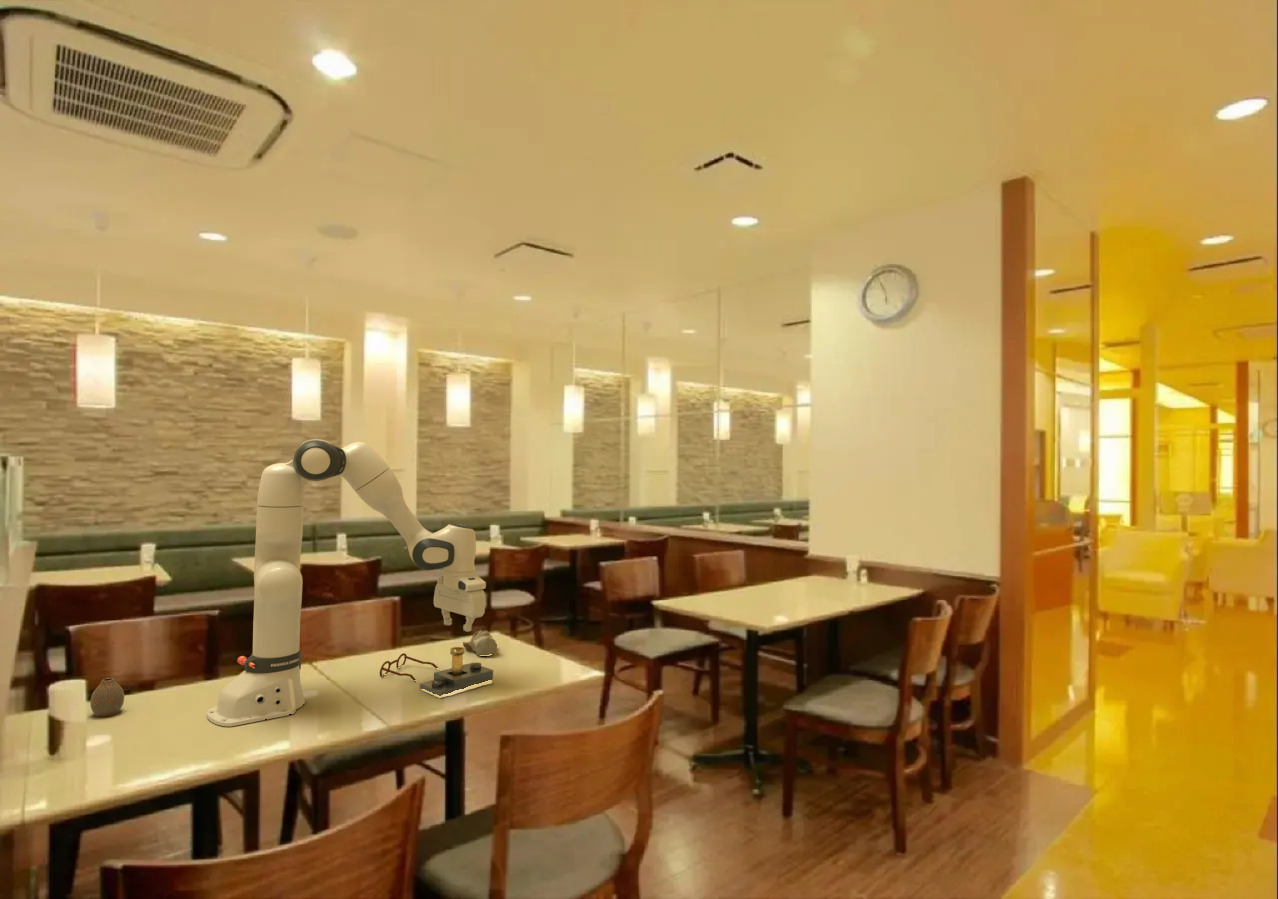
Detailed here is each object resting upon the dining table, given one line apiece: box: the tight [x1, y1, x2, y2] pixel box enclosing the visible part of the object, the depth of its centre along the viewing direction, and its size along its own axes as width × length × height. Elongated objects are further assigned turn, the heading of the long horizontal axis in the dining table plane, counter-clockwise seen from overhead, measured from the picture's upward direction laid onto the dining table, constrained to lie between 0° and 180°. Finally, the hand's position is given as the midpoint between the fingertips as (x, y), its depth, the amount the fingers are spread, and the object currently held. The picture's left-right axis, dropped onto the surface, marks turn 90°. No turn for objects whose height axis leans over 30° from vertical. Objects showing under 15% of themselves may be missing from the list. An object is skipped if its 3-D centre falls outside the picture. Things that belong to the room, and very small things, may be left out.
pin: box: [449, 646, 466, 677], centre depth 208 cm, size 4×4×11 cm
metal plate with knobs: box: [419, 662, 494, 696], centre depth 208 cm, size 18×10×5 cm, turn 139°
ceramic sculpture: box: [462, 628, 498, 656], centre depth 242 cm, size 11×9×15 cm
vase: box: [89, 677, 125, 718], centre depth 182 cm, size 7×7×9 cm
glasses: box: [379, 652, 439, 681], centre depth 219 cm, size 13×13×5 cm
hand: (457, 627), depth 208 cm, fingers open, 8 cm apart
